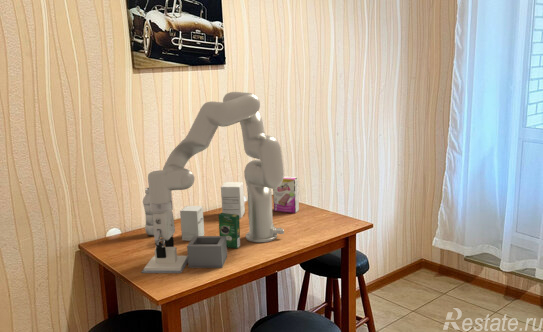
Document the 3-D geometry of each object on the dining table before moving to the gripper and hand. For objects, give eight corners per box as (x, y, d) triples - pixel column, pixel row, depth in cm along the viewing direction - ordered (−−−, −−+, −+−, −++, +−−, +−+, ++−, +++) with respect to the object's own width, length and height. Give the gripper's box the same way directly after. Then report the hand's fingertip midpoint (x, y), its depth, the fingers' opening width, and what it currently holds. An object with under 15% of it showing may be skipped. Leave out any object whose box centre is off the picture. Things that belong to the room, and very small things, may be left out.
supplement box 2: (226, 212, 242) (224, 181, 239) (245, 212, 241) (243, 181, 237) (222, 218, 233) (220, 186, 230) (241, 218, 232) (239, 186, 229)
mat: (190, 258, 188) (190, 257, 188) (181, 273, 176) (181, 271, 176) (153, 258, 190) (153, 257, 190) (141, 272, 177) (141, 271, 177)
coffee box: (241, 246, 198) (239, 214, 195) (238, 249, 195) (236, 216, 193) (223, 244, 201) (221, 212, 199) (219, 246, 199) (217, 214, 196)
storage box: (227, 256, 189) (226, 236, 187) (222, 267, 179) (221, 246, 177) (195, 256, 190) (193, 236, 188) (188, 267, 180) (186, 246, 178)
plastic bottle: (147, 238, 211) (142, 191, 207) (144, 233, 217) (140, 187, 213) (163, 235, 213) (159, 189, 209) (159, 230, 220) (155, 185, 215)
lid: (188, 258, 187) (186, 242, 186) (180, 270, 177) (179, 254, 176) (153, 258, 188) (152, 243, 187) (144, 270, 178) (142, 254, 177)
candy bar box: (273, 211, 240) (272, 177, 237) (277, 208, 245) (276, 175, 241) (295, 213, 236) (294, 179, 232) (299, 210, 240) (298, 176, 237)
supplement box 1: (199, 241, 205) (196, 211, 203) (181, 240, 207) (179, 210, 204) (205, 234, 212) (203, 205, 210) (188, 234, 214) (185, 205, 211)
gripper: (164, 213, 169) (169, 262, 173) (178, 199, 186) (182, 243, 190) (142, 214, 170) (147, 262, 174) (158, 199, 187) (162, 243, 191)
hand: (165, 252), depth 182 cm, fingers open, 9 cm apart
